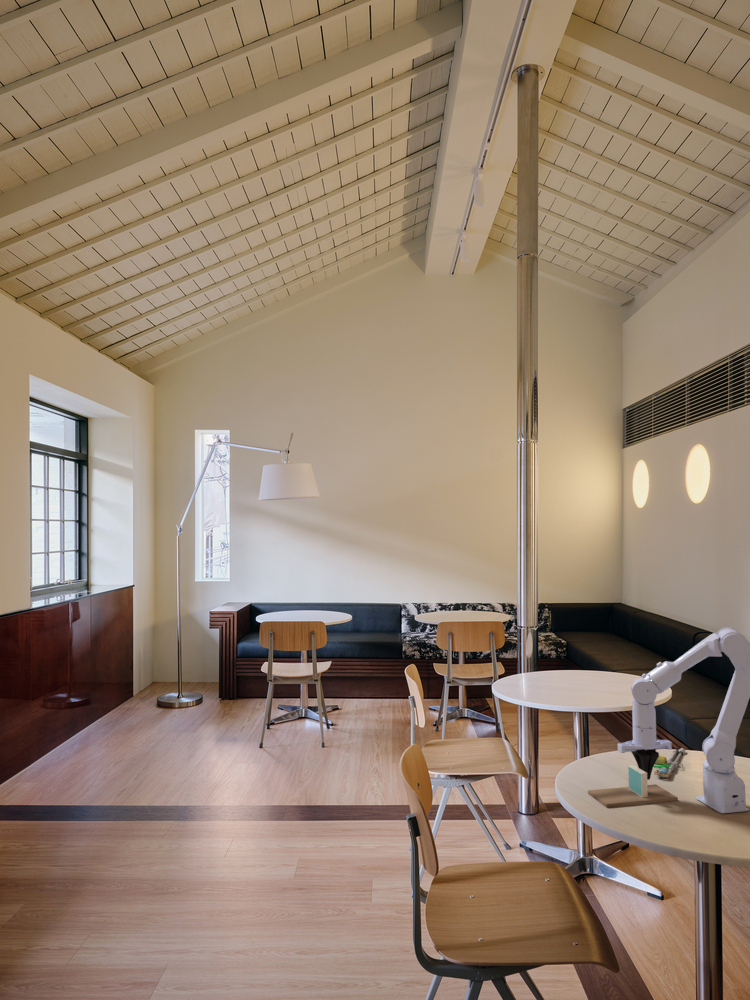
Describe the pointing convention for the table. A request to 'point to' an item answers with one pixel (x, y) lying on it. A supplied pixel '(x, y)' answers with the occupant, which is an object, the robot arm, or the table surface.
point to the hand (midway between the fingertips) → (645, 778)
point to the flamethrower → (668, 763)
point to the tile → (637, 780)
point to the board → (631, 796)
